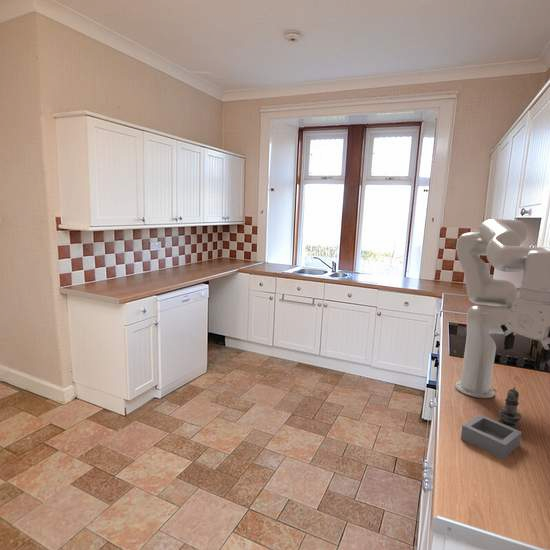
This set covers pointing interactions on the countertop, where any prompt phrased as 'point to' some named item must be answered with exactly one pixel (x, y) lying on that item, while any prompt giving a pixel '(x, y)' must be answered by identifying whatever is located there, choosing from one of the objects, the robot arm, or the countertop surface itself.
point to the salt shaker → (510, 410)
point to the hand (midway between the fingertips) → (525, 355)
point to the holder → (491, 436)
